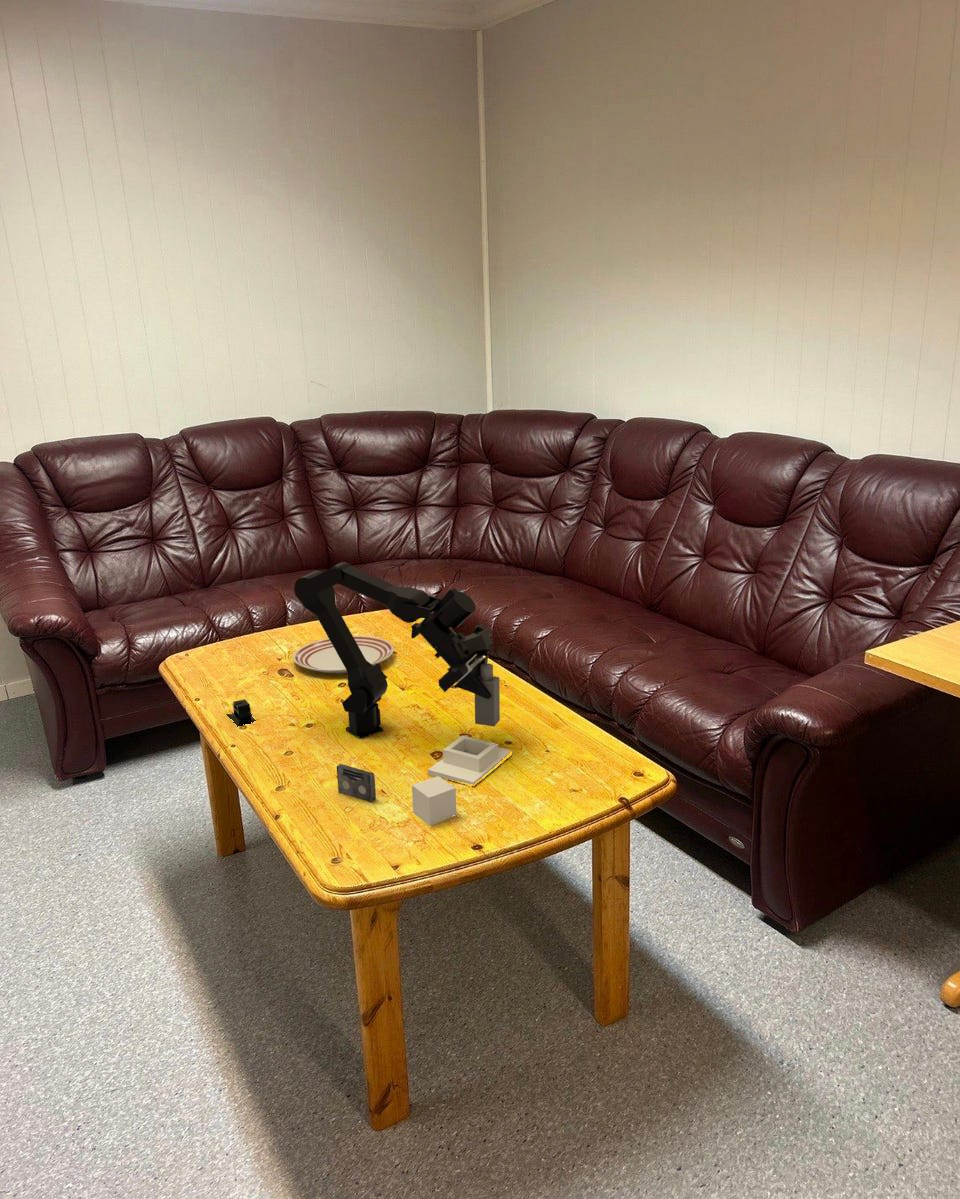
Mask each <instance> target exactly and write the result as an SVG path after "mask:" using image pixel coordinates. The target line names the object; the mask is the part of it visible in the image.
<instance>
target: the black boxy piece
mask: <svg viewBox="0 0 960 1199" xmlns="http://www.w3.org/2000/svg"><path fill="white" fill-rule="evenodd" d="M232 708H233V709H232V710H233V712H234V713H233V712H231V713H232V714H228V713H225V714H226V715H227V716H228V717H229V718H230V719H232V720H233V721H234V722H233V723H235V724H236V725H237V727H238V726H243V724H244V725H245V724H251V722H252V723H253V722H254V721H256V720H255V719H254V718H253V717H252V715H251V713H252V711H251V710H252V708H251V705H250V703H249V702H248V701H247V700H246V699H245V698H244V699H240V700H236V701H233V704H232ZM226 715H225V716H226ZM227 716H226V717H227ZM228 717H227V718H228ZM229 718H228V719H229ZM230 719H229V720H230ZM233 723H232V724H233ZM237 727H236V728H237Z"/></svg>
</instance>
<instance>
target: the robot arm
mask: <svg viewBox="0 0 960 1199" xmlns="http://www.w3.org/2000/svg"><path fill="white" fill-rule="evenodd" d="M337 584H338V585H341V586H343V587H345V588H347V589H350V590H351V591H354V592H356V593H358V594H360V595H363V596H365V597H366V598H369V599H371V600H373V601H376V602H377V603H380V604H382V605H383V606H385V607H386V608H387V609H388V611H389V612H390V614H392V615H394V616H395V618H398V619H399V620H400V621H403V623H404V622H405V623H407V624H411V623H414V622H415V623H414V624H412V625H411V626H410V628H411V634H410V638H411V639H412V640H413V639H415V638H416V637H418V636H419V635H421V636H422V637H423V638H424V640H425V641H426V642H427V643H428V644H429V645H430V647H432V649H434V651H435V652H436V653H435V654H434V657H435V658H436V659H439V658H440V657H441V659H442V660H443V661H444V662H445V663H446V664H447V666H448V668H447V669H446V670H447V672H446V673H445V674H443V675H442V677H440V678H439V679H438V686H439V689H441V691H443V692H444V693H446V692H447V691H448V690H450V688H452V687H453V688H454V689H457V688H458V689H461V690H463V691H467V692H469V693H472V694H474V695H475V694H476V695H479V696H481V697H483V698H486V699H489V698H491V694H490V693H489V691H488V690H487V688H486V687H485V686H484V684H483V683H482V682H481V680H480V679H479V678H478V676H479V675H481V665H482V664H486V663H488V661H489V656H490V655H489V654H487V653H488V652H490V651H491V650H492V649H493V648H494V645H493V643H494V642H493V641H492V638H491V635H492V631H491V630H489V628H488V627H486V626H485V625H484V624H483V623H481V624H479V625H477V626H475V627H474V628H473V632H472V633H471V634H469V635H467V636H466V635H465V634H464V633H463V632H458V633H456V632H455V631H454V630H453V629H457V628H458V627H460V625H462V624H463V623H464V622H465V621H466V620H467V619H468V618H469V617H470V616H471V615H473V614H474V613H475V611H476V610H477V608H476V604H475V602H474V600H473V599H472V597H471V596H469V595H467V594H466V593H464V592H463V591H460V590H459V591H458V589H456V588H455V587H452V588H451V589H449V590H448V591H447V592H446V593H445V595H444V596H443V597H442V598H440V597H436V596H431V595H429V594H428V593H427V592H425V591H424V590H421V589H418V588H415V587H410V586H400V585H399V586H398V585H394V584H392V583H390V582H387V580H384V579H381V578H380V577H377V576H375V575H372V574H371V573H369V572H366V571H364V570H361V569H360V568H358V567H355V566H353V565H352V564H351V563H349V562H346V561H343V562H339V563H337V564H336V565H333V566H331V567H330V568H329V569H327V570H326V571H324V572H323V571H321V570H315V571H312V572H310V573H308V574H306V575H304V576H301V577H299V578H298V579H297V580H296V581H295V583H294V587H293V593H294V595H295V597H296V598H297V600H298V601H299V603H300V604H301V605H302V606H303V608H304V609H305V610H308V612H310V613H312V614H313V615H315V616H316V618H317V620H318V622H319V623H320V625H321V627H322V629H323V630H324V632H325V634H326V636H327V639H328V638H329V640H330V641H331V643H332V645H333V647H334V649H335V650H336V652H337V654H338V656H339V658H340V659H341V661H342V663H343V665H344V666H345V668H346V670H347V673H346V675H347V686H348V689H349V691H350V695H348V697H346V698H345V699H344V700H343V702H342V704H341V705H342V707H343V709H344V711H345V712H347V714H348V715H347V716H348V726H347V727H345V731H346V732H348V733H350V734H351V735H353V736H355V737H357V738H358V739H363V738H367V737H369V736H372V735H375V734H378V733H381V732H382V731H384V727H382V726H381V725H382V723H381V722H382V721H381V709H380V708H379V704H378V702H380V701H381V700H382V697H383V695H385V694H386V692H387V690H388V686H389V685H388V681H387V679H388V676H387V675H385V673H384V672H383V669H382V667H381V665H380V663H379V664H378V663H377V664H375V665H372V664H371V663H369V662H368V661H367V660H366V659H365V657H364V655H363V654H362V652H361V650H360V648H359V646H358V645H357V643H356V641H355V639H354V637H353V636H354V635H353V634H352V632H351V630H350V629H349V627H348V625H347V623H346V621H345V619H344V618H343V616H342V615H341V613H340V610H339V609H338V607H337V605H336V592H335V589H334V586H335V585H337ZM433 613H434V615H433V616H432V615H431V614H433ZM420 619H422V621H420V622H417V621H418V620H420ZM486 654H487V655H486ZM484 656H485V657H484ZM488 664H489V663H488ZM453 685H454V686H453Z"/></svg>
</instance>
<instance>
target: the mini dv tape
mask: <svg viewBox="0 0 960 1199" xmlns="http://www.w3.org/2000/svg"><path fill="white" fill-rule="evenodd" d="M336 775H337V776H336V778H337V788H338V789H337V790H338V791H337V792H338V793H339V794H341V795H344V796H345V795H346V796H349V797H351V798H355V799H358V800H362V801H364V802H368V803H374V801H375V800H377V794H376V792H377V791H376V777H375V774H374V772H371V771H368V770H364V769H362V768H361V769H360V768H356V767H355V766H354V767H353V766H350V765H347V764H342V763H339V764H337V765H336Z"/></svg>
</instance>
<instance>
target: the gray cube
mask: <svg viewBox="0 0 960 1199" xmlns="http://www.w3.org/2000/svg"><path fill="white" fill-rule="evenodd" d="M456 789H457V787H455V786H453V785H452V784H450V783H449V782H448V781H447V780H445V779H442V778H440V777H439V776H437V777H434V776H433V777H431V778H429V779H425V780H424V781H423V780H422V781H420V782H417V783H415V784H412V785H411V793H412V794H411V795H412V796H411V797H412V813H413V814H414V815H415V816H417V817H418V818H419V819H420V820H422V821H423V822H424V823H426V824H427V825H428V826H430V827H431V826H434V825H436V824H438V822H439V823H441V822H440V821H442V822H444V821H446V820H445V819H447V818H449V819H451V818H450V817H452V816H453V815H456V814H457V790H456ZM452 818H453V817H452ZM443 820H444V821H443ZM447 820H448V819H447Z"/></svg>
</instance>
